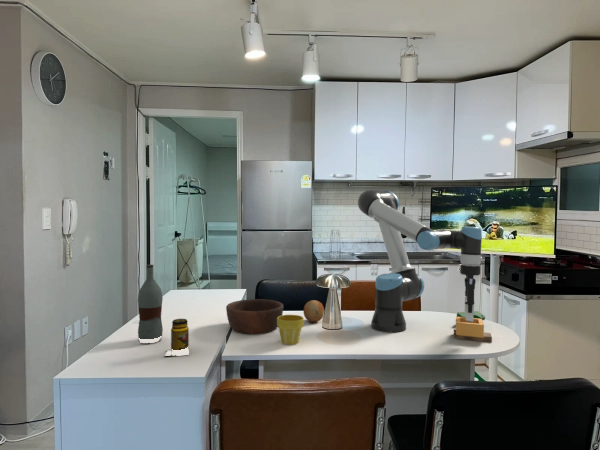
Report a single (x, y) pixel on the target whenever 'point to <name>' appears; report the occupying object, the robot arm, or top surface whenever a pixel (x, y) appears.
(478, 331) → the orange hollow square frame
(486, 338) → the brown block with peg
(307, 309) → the brown oval piece
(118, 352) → the top surface
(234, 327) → the wooden bowl
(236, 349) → the top surface
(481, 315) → the clamp
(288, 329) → the plant pot
